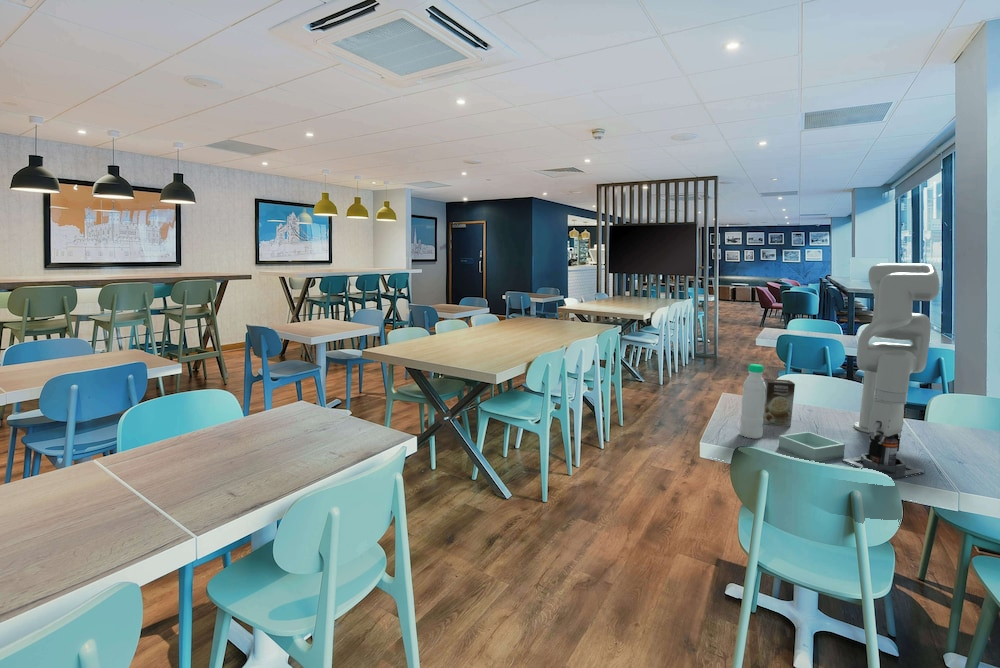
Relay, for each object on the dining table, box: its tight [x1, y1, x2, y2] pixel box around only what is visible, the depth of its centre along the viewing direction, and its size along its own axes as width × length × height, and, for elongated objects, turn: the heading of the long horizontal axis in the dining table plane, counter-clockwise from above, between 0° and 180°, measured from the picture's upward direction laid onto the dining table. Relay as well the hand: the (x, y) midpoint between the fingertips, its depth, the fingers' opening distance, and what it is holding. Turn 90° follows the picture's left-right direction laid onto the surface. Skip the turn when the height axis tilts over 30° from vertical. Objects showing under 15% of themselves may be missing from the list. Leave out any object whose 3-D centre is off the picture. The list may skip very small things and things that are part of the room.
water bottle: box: [739, 363, 766, 440], centre depth 176 cm, size 7×7×25 cm
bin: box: [778, 431, 846, 462], centre depth 163 cm, size 13×13×4 cm
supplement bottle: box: [870, 432, 898, 465], centre depth 150 cm, size 6×6×11 cm
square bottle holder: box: [841, 452, 925, 481], centre depth 151 cm, size 14×14×2 cm
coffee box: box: [763, 378, 796, 427], centre depth 191 cm, size 9×6×16 cm
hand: (883, 453), depth 151 cm, fingers open, 9 cm apart
